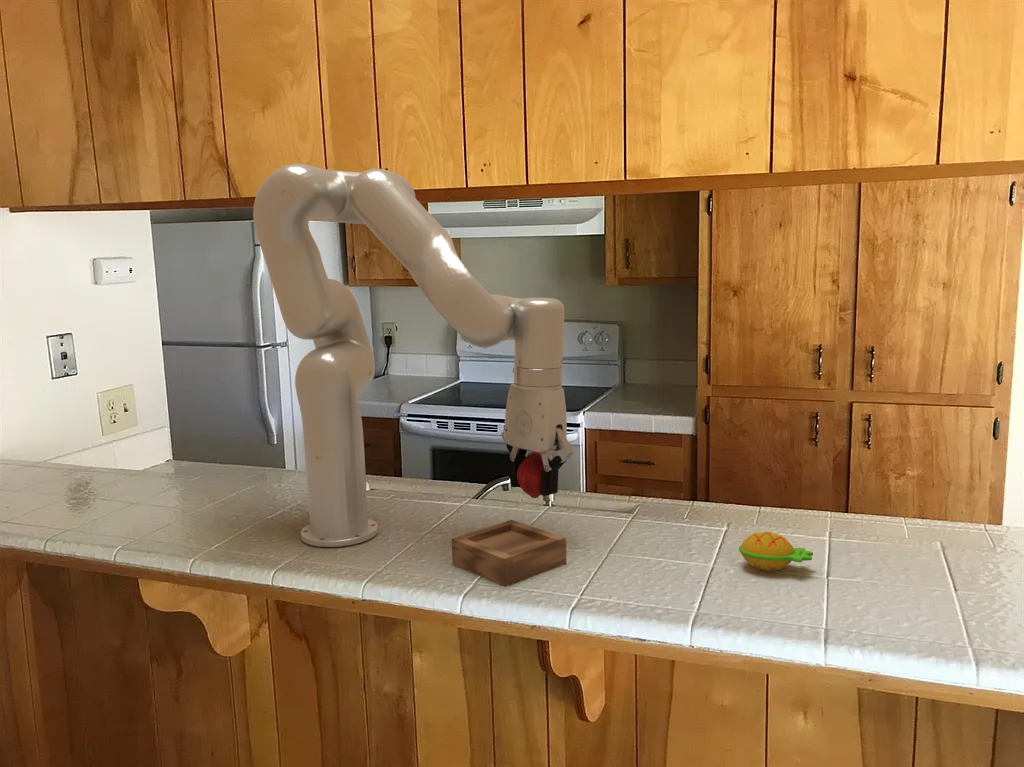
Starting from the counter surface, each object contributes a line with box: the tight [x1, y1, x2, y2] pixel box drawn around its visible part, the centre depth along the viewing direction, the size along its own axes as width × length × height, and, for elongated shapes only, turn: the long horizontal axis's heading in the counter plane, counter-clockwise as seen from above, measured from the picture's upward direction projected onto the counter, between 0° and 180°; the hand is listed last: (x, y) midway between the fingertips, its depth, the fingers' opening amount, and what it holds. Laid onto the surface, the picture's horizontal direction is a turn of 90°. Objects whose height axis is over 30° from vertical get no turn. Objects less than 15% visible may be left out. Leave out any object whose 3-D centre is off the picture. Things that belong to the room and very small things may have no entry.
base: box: [450, 519, 567, 587], centre depth 125 cm, size 12×12×4 cm
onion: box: [517, 452, 545, 499], centre depth 134 cm, size 6×6×8 cm
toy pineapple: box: [738, 531, 814, 572], centre depth 120 cm, size 7×10×5 cm
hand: (534, 488), depth 134 cm, fingers closed on onion, 5 cm apart
